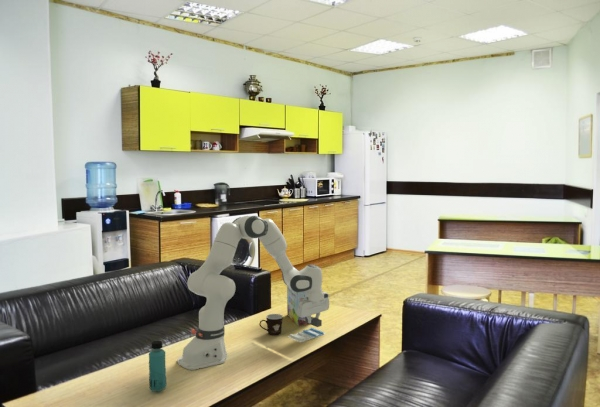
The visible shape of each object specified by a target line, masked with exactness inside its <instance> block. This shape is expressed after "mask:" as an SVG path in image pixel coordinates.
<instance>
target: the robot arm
mask: <svg viewBox="0 0 600 407" xmlns="http://www.w3.org/2000/svg"><path fill="white" fill-rule="evenodd" d="M245 239H246V240H252V239H259V241H260V242H261V244H262V246H263V247H264V249H265V250H266V252H267V253H268V254H269V255H270V256H271V257H272V258H273V259H274V260H275V261H276V263H277V265H278V267H279V269H280V271H281V276H282V280H283V281H282V282H283V283H284V285H285V286H286V287H287V286H289V287H290V288H291V289H292V290H293V291H295V292H303V291H305V298H304V299H301V300H300V301H299V303H298V310H297V315H298V316H299V317H301V318H303V317H307V319H308V323H312V319H311V318H310V317H312V316H313V315H315V317H314V316H313V317H314V318H317V319H320V316H321V313H323V312H325V311H329V308H330V298H329V297H330V293H328V292H326V291H323V288H322V285H323V272H322V271H323V270H322V268H321V267H320V266H318V265H316V264H307V265H306V266H305V267H304V268H302V269H300V270H299V269H297V268H296V267H295V266H294V265H293V264H292V262H291V261H290V259H289V257H288V255H287V253H286V251H287V249H288V244H287V241H286V238H285V236H284V235H283V233H282V231H281V229H280V228H279V227H278V226H277V224H276V223H275V222H274V221H273V220H272V219H271V218H262V217H261V216H257V215H245V216H239V217H237V218H235V219H234V220H233V221H232V222H228V221H227V222H223V223H222V224H221V226H220V227H219V229H218V231H217V233H216V234H215V237H214V240H213V243H212V245H211V248H210V250H209V253H208V256H207V258H206V260H204V262H203V264H202V265H201V266H200V267H198V269H197V270H196V271H193V272H192V273H191V274H190V275H189V276H188V279H187V282H186V286H187V288H188V290H189V291H190V292H192V293H194V294H195V295H198V296H200V297H205V298H206V302H205V305H204V306H202V307H201V308H200V309H199V311H198V328H197V329H196V328H195V329H194V328H192V329H191V330H190V333H191V334H192V335H195V336H194V337H193V338H192V339H191V340H190V341H189V342H188V343H187V344H186V345H185V346H184V347H183V350H182V356H180V357H178V358H177V362H176V363H177V364H178V365H179V366H180V367H182V368H183V369H186V370H190V371H194V370H199V368H200V369H205V368H208V367H212V366H216V365H220V364H224V363H225V360H226V359H227V357H228V353H227V350H226V346H225V345H226V344H225V331H226V330H225V324H224V316H225V314H224V313H225V308H226V305H227V303H228V301H229V300H231V299H232V297H234V295H235V294H236V293H235V292H236V288H237V287H236V283H235V281H234V279H232V278H230V277H228V276H226V275H221V273H222V272H223V271H224V270H225V269H226V268H229V267H230V266H231V265H232V263H233V260H234V257H235V254H236V251H237V248H238V245H239V242H240V241H241V240H245Z"/></svg>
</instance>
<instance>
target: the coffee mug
mask: <svg viewBox="0 0 600 407" xmlns="http://www.w3.org/2000/svg"><path fill="white" fill-rule="evenodd" d="M283 319H284V316H283V315H282V314H280V313H269V314H267V315H266V318H265V319H261V320H260V321H259V326H260V328H261V329H263V330H264V331H267V335H269V336H272V337H273V336H274V337H277V336H280V335H281V334H282V327H283ZM263 322H265V323H266V326H267V328H265V327H263V326H262V323H263Z"/></svg>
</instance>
